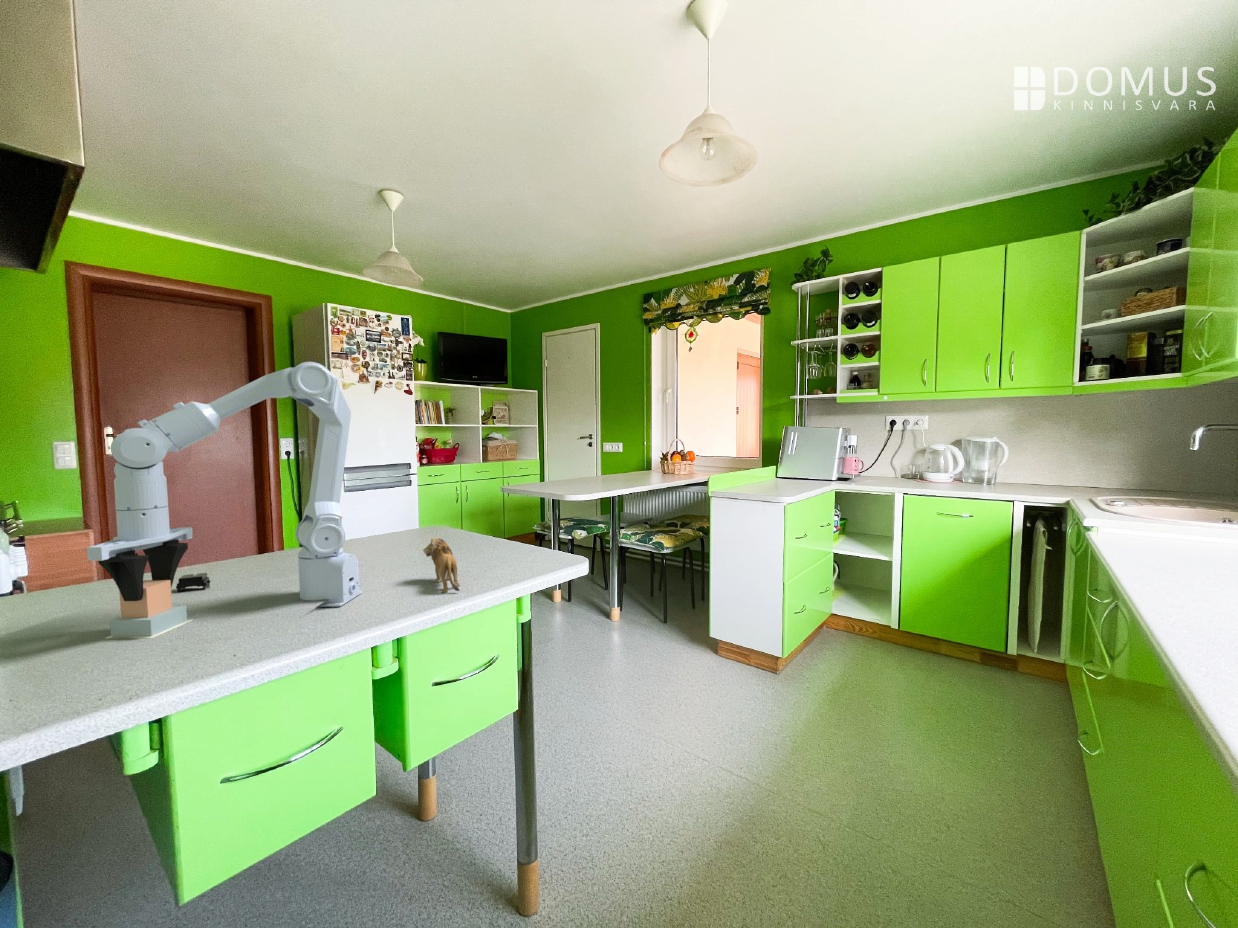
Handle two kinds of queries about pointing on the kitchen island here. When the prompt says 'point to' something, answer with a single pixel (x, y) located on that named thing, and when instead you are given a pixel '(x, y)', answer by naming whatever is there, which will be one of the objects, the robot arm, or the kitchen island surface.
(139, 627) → the base block
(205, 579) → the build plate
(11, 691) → the kitchen island surface
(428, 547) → the lion figurine
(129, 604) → the top block
